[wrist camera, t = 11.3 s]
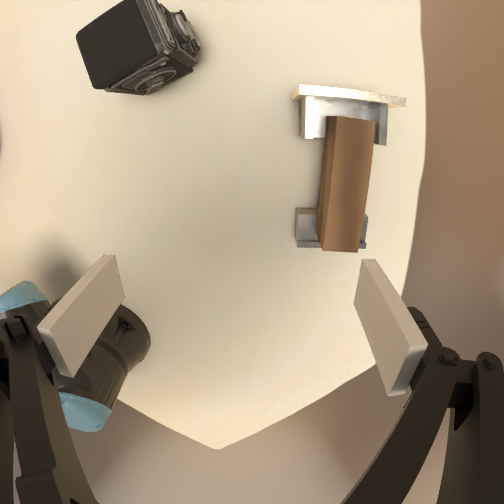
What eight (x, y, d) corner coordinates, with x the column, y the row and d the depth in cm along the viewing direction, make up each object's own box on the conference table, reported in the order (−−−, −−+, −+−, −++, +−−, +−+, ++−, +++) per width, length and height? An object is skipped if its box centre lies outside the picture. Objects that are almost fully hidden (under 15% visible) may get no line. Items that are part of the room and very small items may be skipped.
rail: (315, 232, 41) (322, 250, 36) (326, 115, 35) (337, 115, 29) (346, 234, 41) (357, 252, 36) (359, 120, 34) (375, 121, 29)
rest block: (294, 236, 45) (297, 247, 42) (296, 208, 43) (299, 216, 40) (358, 238, 45) (365, 248, 41) (362, 210, 43) (369, 218, 39)
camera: (215, 71, 35) (188, 47, 22) (148, 103, 37) (94, 100, 24) (189, 13, 31) (154, -28, 18) (125, 46, 33) (68, 26, 20)
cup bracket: (291, 135, 39) (299, 140, 30) (291, 92, 36) (299, 84, 27) (374, 141, 38) (403, 149, 29) (375, 100, 36) (405, 98, 27)
